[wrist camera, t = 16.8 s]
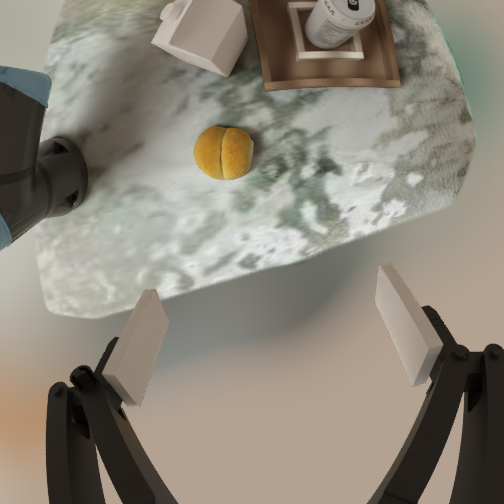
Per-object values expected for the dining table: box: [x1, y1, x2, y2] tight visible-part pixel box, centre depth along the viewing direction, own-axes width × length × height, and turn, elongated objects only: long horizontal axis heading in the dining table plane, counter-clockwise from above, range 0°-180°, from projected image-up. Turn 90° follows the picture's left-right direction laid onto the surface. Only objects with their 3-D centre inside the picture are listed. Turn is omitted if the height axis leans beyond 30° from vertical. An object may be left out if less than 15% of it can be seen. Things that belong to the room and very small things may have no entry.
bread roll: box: [194, 126, 254, 180], centre depth 40 cm, size 8×9×4 cm
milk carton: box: [152, 0, 248, 77], centre depth 25 cm, size 7×7×19 cm
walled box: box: [249, 0, 401, 92], centre depth 28 cm, size 20×18×8 cm
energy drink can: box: [304, 0, 375, 49], centre depth 24 cm, size 6×6×15 cm
